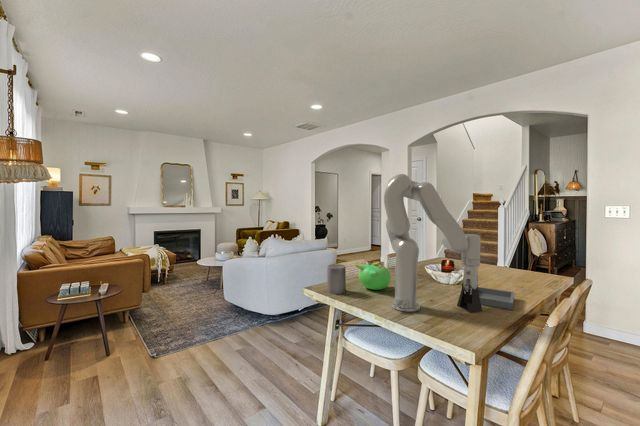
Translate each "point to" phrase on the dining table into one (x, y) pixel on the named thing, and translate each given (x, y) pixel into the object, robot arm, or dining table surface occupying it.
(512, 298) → the tray
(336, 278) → the pillar candle
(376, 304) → the dining table surface
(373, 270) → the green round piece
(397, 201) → the robot arm
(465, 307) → the door stopper
